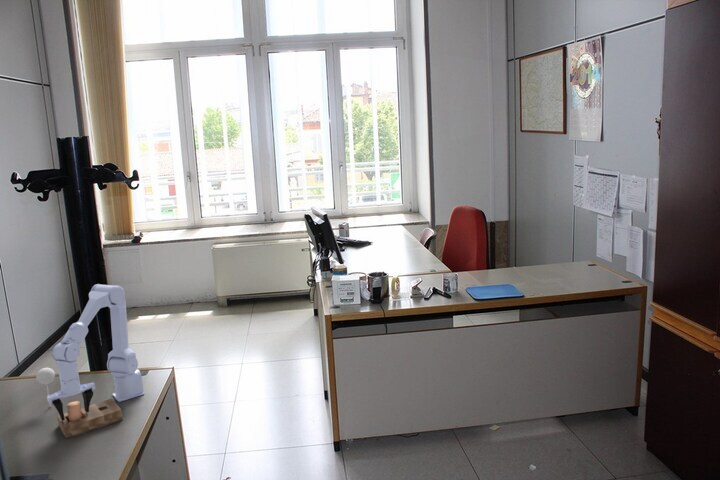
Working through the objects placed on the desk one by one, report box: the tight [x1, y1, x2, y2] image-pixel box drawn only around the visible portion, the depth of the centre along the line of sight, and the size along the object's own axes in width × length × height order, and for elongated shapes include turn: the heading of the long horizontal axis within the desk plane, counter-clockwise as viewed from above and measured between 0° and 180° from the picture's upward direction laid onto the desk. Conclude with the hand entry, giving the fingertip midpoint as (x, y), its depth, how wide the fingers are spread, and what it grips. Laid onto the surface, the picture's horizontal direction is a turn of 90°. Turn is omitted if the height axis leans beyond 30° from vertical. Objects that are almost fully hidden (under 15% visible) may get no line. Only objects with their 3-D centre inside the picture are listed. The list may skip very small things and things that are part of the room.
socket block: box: [56, 398, 124, 440], centre depth 205 cm, size 18×11×4 cm, turn 128°
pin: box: [66, 400, 82, 422], centre depth 201 cm, size 4×4×8 cm
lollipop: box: [35, 367, 56, 408], centre depth 216 cm, size 6×6×15 cm
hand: (74, 415), depth 201 cm, fingers open, 7 cm apart
